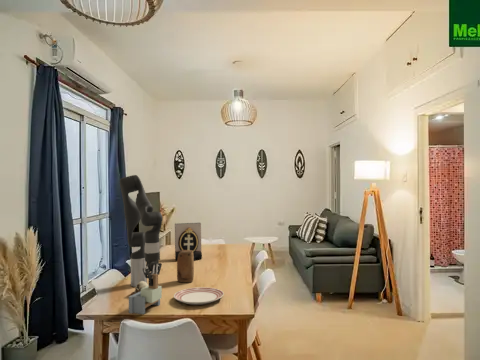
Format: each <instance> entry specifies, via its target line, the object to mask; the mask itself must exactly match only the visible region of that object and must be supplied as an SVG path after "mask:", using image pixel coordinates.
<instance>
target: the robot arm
mask: <svg viewBox="0 0 480 360" xmlns="http://www.w3.org/2000/svg"><path fill="white" fill-rule="evenodd" d="M143 185H144V184H143V183H142V181H141V179H140V177H139V176H138V175H136V174H133V175H128V176H125V177H122V178H120V179H119V187H120V192H121V197H122V201H123V210H124V212H123V213H124V217H125V223H126V225H125V226H126V232H127V233H126V234H127V244H128V246H129V247H130V248H139V249H138V250H136V251H133V252H132V253H130V286H131V287H133V288H135V287H136V286H137V284H138V283H139V282H141V281H145V282H146V283H147V284H148V285H149V286H153V274H158V276H159V275H160V272H161V269H162V265H163V263H160V262H159V261H160V259H161V250H160V249H161V246H160V231H161V227H162V223H163V220H164V219H163V215H162V213H161V212H160V211H154V207H153V205H152V203H151V201H150V200H149V198H148V196H147V194H146V190H145V188H144V186H143ZM135 192H137V195H136V199H135V201H134V200H133V199H132V198H131V196H130V195H129V194H131V193H135ZM140 221H141V225H143V226H145V227H152V228H151V229H149V230H147V231H135V232H134V230H135V228H136V227H137V225H138V224H139V222H140ZM150 274H151V275H150Z"/></svg>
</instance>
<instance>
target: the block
mask: <svg viewBox="0 0 480 360" xmlns="http://www.w3.org/2000/svg"><path fill="white" fill-rule="evenodd" d="M194 273H195V260H194V255H193V251H192V250H181V251H180V252H179V254H178V259H177V261H176V279H177V282H179V283H180V282H181V283H192V282H193V281H194Z"/></svg>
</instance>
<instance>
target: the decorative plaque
mask: <svg viewBox="0 0 480 360" xmlns="http://www.w3.org/2000/svg"><path fill="white" fill-rule="evenodd" d="M181 250H192V251H193V255H194V261H197V260H202V259H203V254H202V252H203V251H202V223H201V222H184V223H183V222H182V223H179V222H178V223H174V255H175V256H174V257H175V261H176V262H177V259H178V254H179V252H180V251H181Z"/></svg>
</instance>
